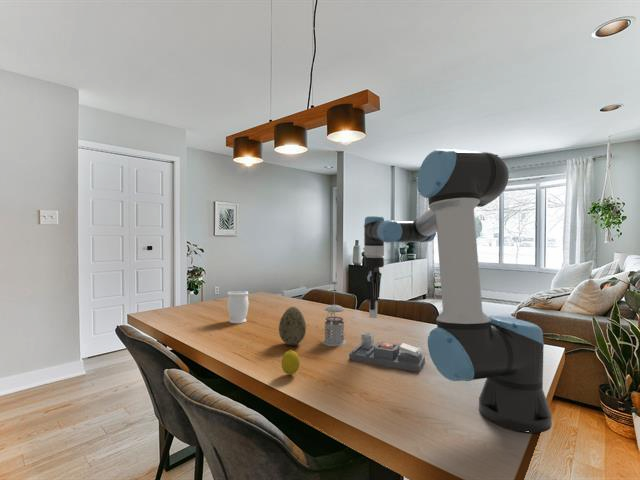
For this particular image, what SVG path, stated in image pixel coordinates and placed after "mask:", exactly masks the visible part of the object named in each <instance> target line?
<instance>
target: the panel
mask: <svg viewBox="0 0 640 480" xmlns="http://www.w3.org/2000/svg"><path fill="white" fill-rule="evenodd" d="M381 343H387V341H386V342H384V341H380V342H377V343H376V344H375V345H374V346H373V347H372V348H371V349H364V348H362V342H361V343H360V344H358V345H357V346H356V347H355V348H354V349H352V350H351V351H350V352H349V354H348V359H349V360H352V361H357V362H361V363H362V362H363V363H367V364H368V363H369V364H373V365H377V366H384V367H389V368H395V369H399V370H405V371H408V372H409V371H410V372H414V373H415V372H416V373H420V372H421V370H422V369H423V366H424V364H425V362H426V356H425V355H423V353H422V352H421V353H420V355H419V357H417V356H414V355H411V354H409V353H406V352H403V351H401V350H399V348H400V345H399V344H398V343H391V342H389V343H390V344H393V349H392V350H391V349H385V348H380V344H381Z"/></svg>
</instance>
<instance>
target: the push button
mask: <svg viewBox="0 0 640 480" xmlns="http://www.w3.org/2000/svg"><path fill="white" fill-rule="evenodd" d="M390 343H391V342H386V343H381V344H380V348H385V349H391V350H392V349H393V344H394V343H393V344H390Z"/></svg>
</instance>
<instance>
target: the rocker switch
mask: <svg viewBox="0 0 640 480" xmlns="http://www.w3.org/2000/svg"><path fill="white" fill-rule="evenodd" d="M399 351H400V352H401V351H403V352H406V353H409V354H411V355H414V356H417V357H419V355H420V353H421V354H422V348H421V347H420V346H418V347H416V346H413V345H410V344H408V343H404V342H402V343H401V344H400V345H399Z"/></svg>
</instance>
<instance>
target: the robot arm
mask: <svg viewBox="0 0 640 480" xmlns="http://www.w3.org/2000/svg"><path fill="white" fill-rule="evenodd" d="M509 175H510V173H509V169H508V167H507V164H506V162H505V161H504V160H503V158H501V157H499V156H498V155H497V154H494V153H492V152H488V151H487V152H486V151H473V150H461V149H453V148H447V149H445V148H443V149H442V148H441V149H440V148H439V149H435V150H433V151H431V152H429V154H427V156H425V158H424V159H423V160H422V163H421V165H420V167H419V170H418V173H417V178H416V186H417V187H416V188H417V191H418V192H419V195H420V196H421V197H424V198H425V199H427V200H428V201H427V203H428V208H429V209H428V210H427V211H426V212H424V213H423V214H422V215H421V216H419V217H418V218H417V219H415V220H414V221H412V220H387V219H386V220H385V218H384V217H383V216H381V215H380V216H379V215H377V216H366V217H365V218H364V224H363V228H364V229H363V230H364V233H363V235H364V237H363V238H364V239H363V242H364V245H363V248H362V250H363V251H364V252H363V254H364V258H363V266H364V267H365V268H368V270H367V273H366V275H365V277H364V278H365V284H366V297H367V299H366V301H368V302H369V303H368V304H369V307H368V309H369V311H368V312H369V317H368V318H371V319H378V301H381V300H380V293H381V280H382V272H381V271H380V268H384V265H385V262H384V260H385V257H384V256H385V243H387V244H388V243H391V244H392V243H427V242H428V243H429V242H432V241H433V240H434V239H435V237H437V250H438V262H439V263H438V264H439V278H440V290H441V305H442V312H441V313H440V314H439V315H438V316H437V317H436V327H435V328H434V329H432V330H431V331H430V332H429V333H428V334H429V335H428V336H427V349H428V353H429V357H430V358H431V361H432V364H433V365H434V366H435V368H436V370H437V371H438V373H439V374H441V376H443V377H444V378H446V379H447V380H449V381H453V382H472V381H474V380H482V379H485V382H484V385H483V387H482V389H481V392H480V395H479V397H478V410H479V412H480V413H481V414H482V415H483V416H484V418H486V419H487V420H489V421H491V422H493V424H496V425H498V426H501V427H503V428H506V429H509V430H512V431H516V430H517V432H520V431H523V432H522V433H525V432H524V431H529V432H532V433H531V434H537V433H544V432H547V431H549V430H550V429H551V428H552V424H553V423H552V420H553V417H552V412H551V409H550V406H549V403H548V399H547V398H546V395H545V392H544V390H543V388H544V387H543V386H544V385H543V384H544V381H543V380H544V345H545V342H544V331H543V330H542V328H541V327H540V326H539V325H537V324H535V323H532V322H530V321H527V320H526V321H525V320H522V319H519V318H518V319H517V318H514V317H513V318H512V317H507V316H502V315H501V316H500V315H490V316H488V315H487V314H485V313H484V312H483V304H482V303H483V302H482V301H483V300H482V291H481V279H480V267H479V256H478V255H479V253H478V244H477V234H476V220H475V219H476V218H475V209H476V207H477V208H482V207H485V206H487V205H488V204H491V203H492V202H493V201H495V200H496V199H497V198H498V197H500V196H501V194H503V192H504V191H505V190H506V188H507V186H508V183H509Z"/></svg>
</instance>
